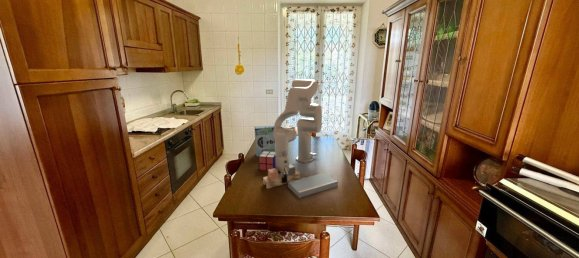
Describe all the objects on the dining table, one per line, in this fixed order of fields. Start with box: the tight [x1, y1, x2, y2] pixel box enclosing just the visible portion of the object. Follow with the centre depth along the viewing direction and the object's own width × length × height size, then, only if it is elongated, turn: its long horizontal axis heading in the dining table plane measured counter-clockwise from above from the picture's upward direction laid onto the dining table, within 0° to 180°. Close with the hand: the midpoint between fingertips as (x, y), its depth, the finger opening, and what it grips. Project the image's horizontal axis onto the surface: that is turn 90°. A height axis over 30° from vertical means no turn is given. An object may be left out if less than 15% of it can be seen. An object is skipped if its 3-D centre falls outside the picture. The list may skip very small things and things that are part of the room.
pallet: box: [262, 168, 301, 190], centre depth 141 cm, size 22×6×4 cm, turn 118°
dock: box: [287, 172, 339, 199], centre depth 136 cm, size 26×13×3 cm, turn 118°
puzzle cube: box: [258, 151, 277, 172], centre depth 160 cm, size 10×10×10 cm
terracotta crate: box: [267, 168, 278, 180], centre depth 137 cm, size 4×4×4 cm
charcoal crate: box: [288, 163, 296, 175], centre depth 143 cm, size 4×4×4 cm
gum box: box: [254, 125, 275, 157], centre depth 181 cm, size 20×5×23 cm, turn 103°
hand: (281, 179), depth 142 cm, fingers closed on pallet, 6 cm apart
